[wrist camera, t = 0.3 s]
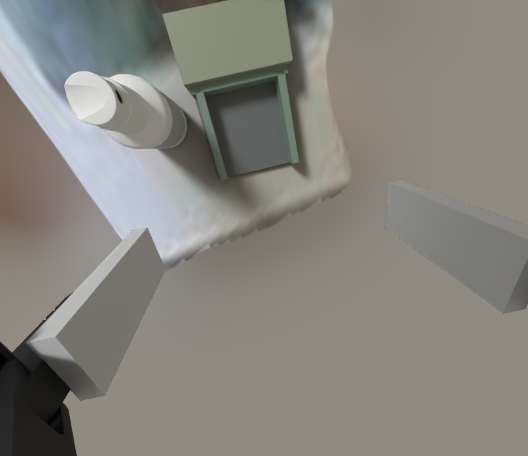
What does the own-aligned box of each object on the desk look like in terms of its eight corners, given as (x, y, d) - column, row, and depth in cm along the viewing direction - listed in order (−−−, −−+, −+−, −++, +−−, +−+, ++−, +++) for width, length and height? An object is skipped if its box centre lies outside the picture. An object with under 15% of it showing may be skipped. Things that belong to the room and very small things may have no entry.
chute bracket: (172, 33, 29) (162, 14, 25) (275, 11, 30) (282, -12, 26) (216, 179, 36) (213, 183, 32) (299, 159, 37) (307, 160, 33)
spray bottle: (194, 143, 34) (155, 138, 17) (149, 153, 34) (66, 158, 17) (178, 92, 32) (117, 31, 15) (130, 102, 31) (12, 51, 15)
